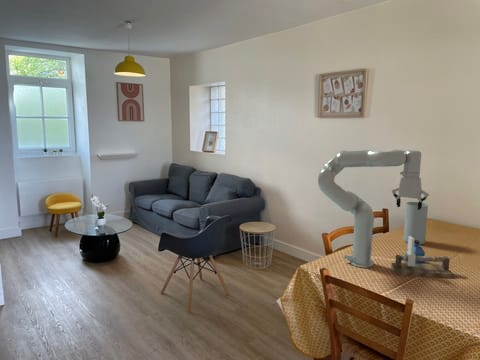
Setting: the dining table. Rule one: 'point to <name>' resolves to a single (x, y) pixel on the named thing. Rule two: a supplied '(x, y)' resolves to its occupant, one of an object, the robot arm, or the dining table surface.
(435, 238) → the dining table surface
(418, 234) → the cylinder vase
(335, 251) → the dining table surface
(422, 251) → the perfume bottle
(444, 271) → the pipe stand
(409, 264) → the white l-shaped bracket
